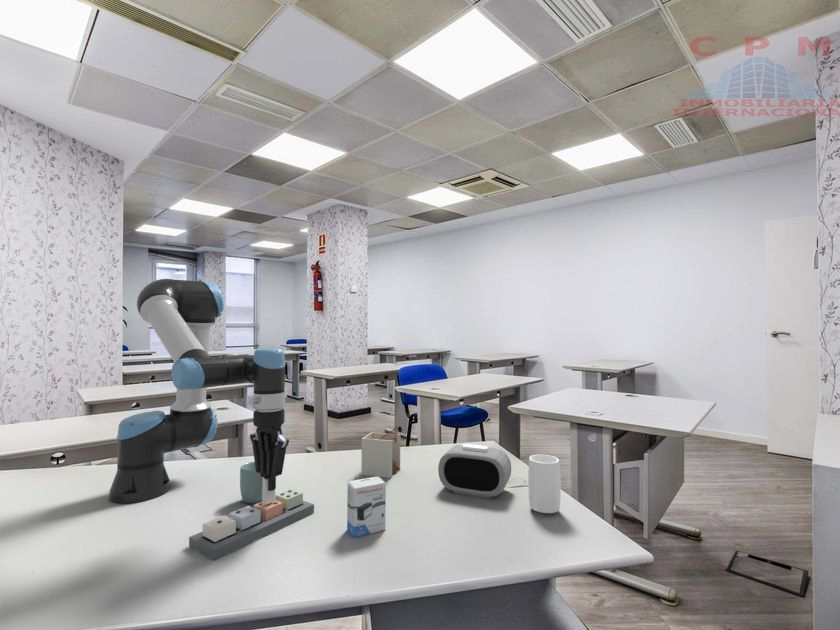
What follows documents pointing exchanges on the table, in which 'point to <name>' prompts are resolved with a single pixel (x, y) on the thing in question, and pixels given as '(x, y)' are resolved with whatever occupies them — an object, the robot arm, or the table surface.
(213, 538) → the tile
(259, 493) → the cup
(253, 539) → the board
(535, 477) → the cup
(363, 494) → the ink box
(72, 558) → the table surface
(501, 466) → the alarm clock
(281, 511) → the tile
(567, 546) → the table surface
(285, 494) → the tile
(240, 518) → the tile
